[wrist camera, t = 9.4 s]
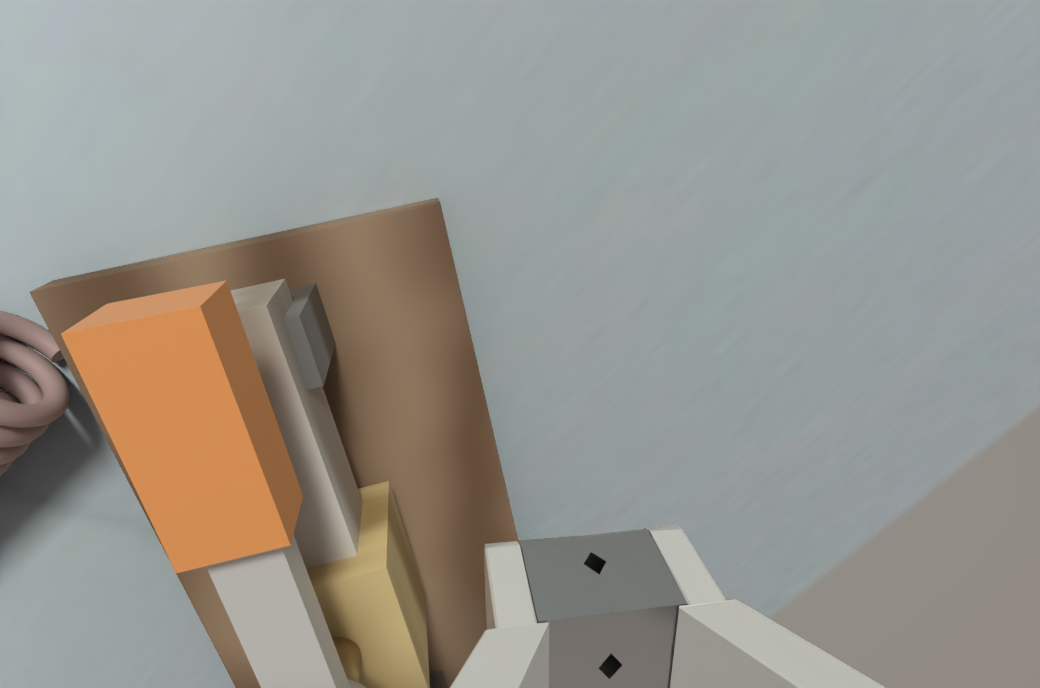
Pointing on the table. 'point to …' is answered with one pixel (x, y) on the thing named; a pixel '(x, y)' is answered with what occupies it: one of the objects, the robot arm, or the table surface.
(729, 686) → the robot arm
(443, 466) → the valve stand
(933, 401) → the table surface
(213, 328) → the valve lever
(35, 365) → the coil
